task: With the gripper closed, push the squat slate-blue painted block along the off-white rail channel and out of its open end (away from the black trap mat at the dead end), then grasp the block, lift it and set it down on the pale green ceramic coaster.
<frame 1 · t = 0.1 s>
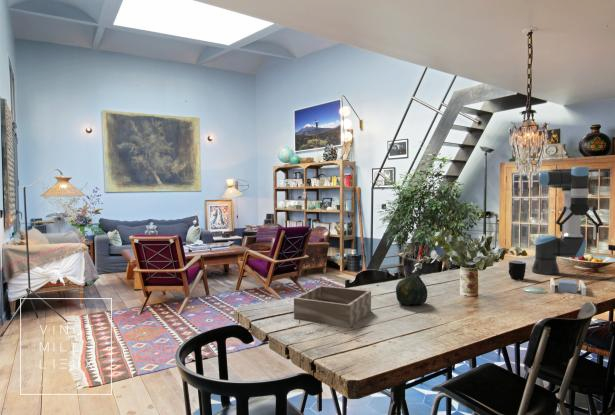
hand: (578, 238, 218), 28 cm above the table, fingers open, 13 cm apart
squash: (411, 304, 203), on the table
planter box: (333, 314, 187), on the table
channel: (567, 290, 225), on the table
mug: (515, 279, 252), on the table
coaster: (534, 290, 225), on the table
block: (567, 291, 224), on the table
trap mat: (566, 287, 230), on the table
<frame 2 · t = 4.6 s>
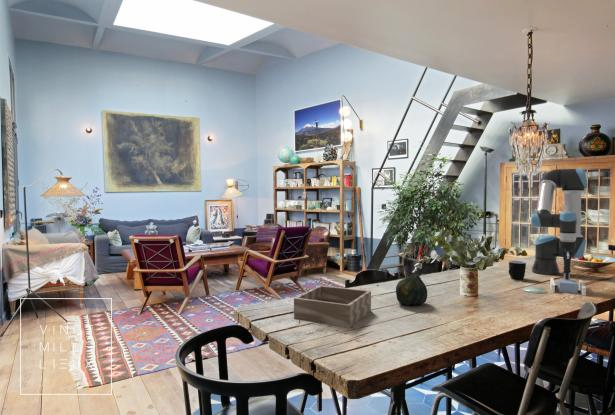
hand: (566, 284, 228), 2 cm above the table, fingers closed
block: (567, 291, 224), on the table, touching gripper
everything else where it was.
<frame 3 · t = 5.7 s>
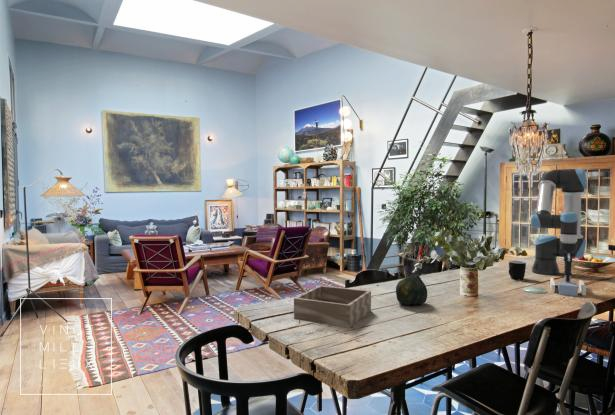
hand: (567, 287, 222), 2 cm above the table, fingers closed
block: (567, 293, 218), on the table
everything else where it was.
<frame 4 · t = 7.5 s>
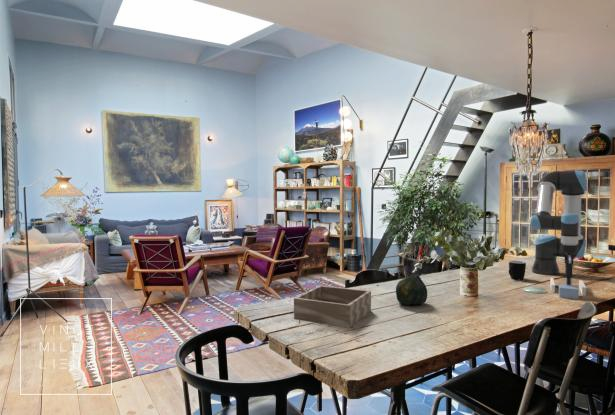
hand: (568, 290, 217), 2 cm above the table, fingers closed
block: (568, 296, 213), on the table
everything else where it was.
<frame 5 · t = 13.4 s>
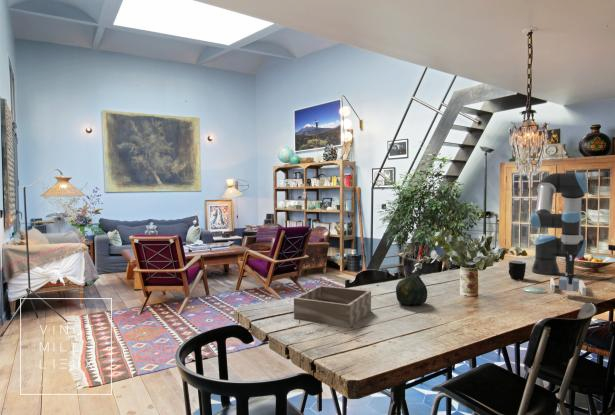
hand: (569, 288, 212), 4 cm above the table, fingers closed on block, 8 cm apart
block: (568, 288, 212), point 4 cm above the table, touching gripper
everything else where it was.
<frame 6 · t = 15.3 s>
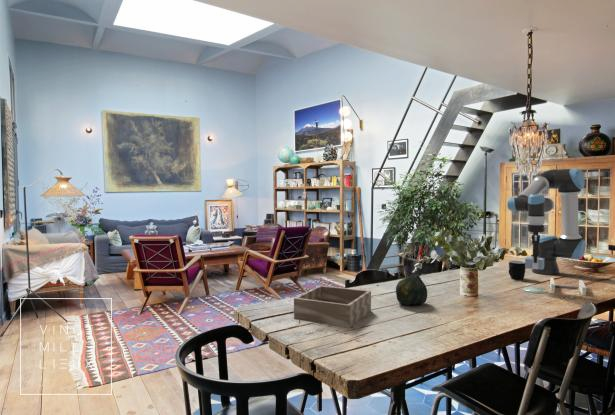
hand: (535, 267, 224), 12 cm above the table, fingers closed on block, 8 cm apart
block: (534, 267, 224), point 12 cm above the table, touching gripper
everything else where it was.
when the fingers open (1 cm above the table, at t = 17.1 s): block stays where it is, resting on coaster.
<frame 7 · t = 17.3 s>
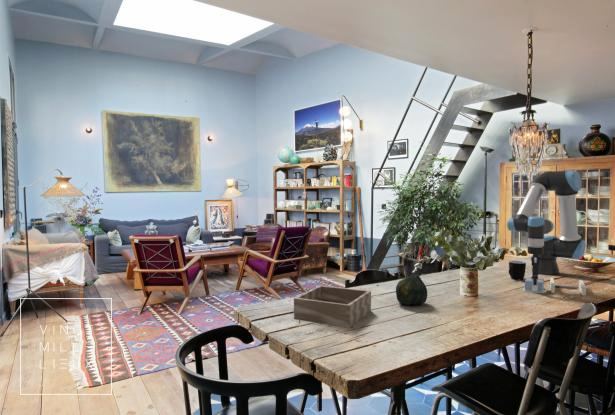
hand: (534, 289, 225), 1 cm above the table, fingers open, 9 cm apart
block: (534, 289, 225), point 1 cm above the table, touching coaster
everything else where it was.
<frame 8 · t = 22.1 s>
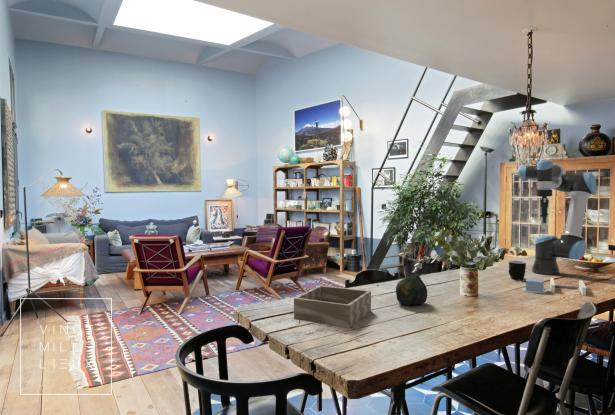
hand: (543, 227, 236), 32 cm above the table, fingers open, 13 cm apart
nothing on the table moved.
at the end: block 0.1 cm from the coaster (horizontally); block tilted 0°; the gripper is holding nothing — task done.
